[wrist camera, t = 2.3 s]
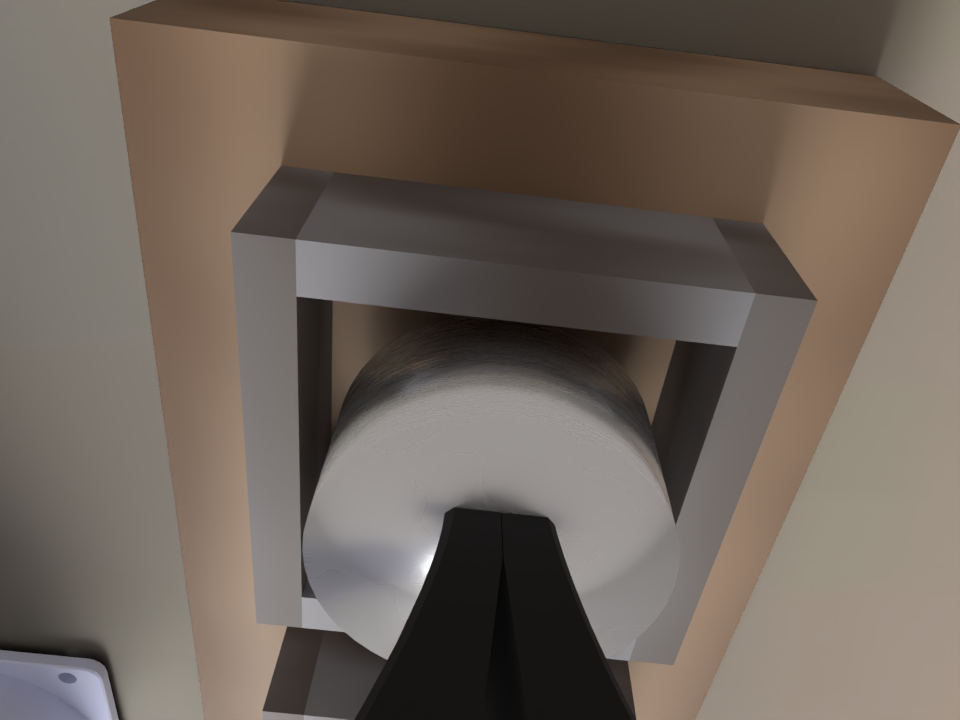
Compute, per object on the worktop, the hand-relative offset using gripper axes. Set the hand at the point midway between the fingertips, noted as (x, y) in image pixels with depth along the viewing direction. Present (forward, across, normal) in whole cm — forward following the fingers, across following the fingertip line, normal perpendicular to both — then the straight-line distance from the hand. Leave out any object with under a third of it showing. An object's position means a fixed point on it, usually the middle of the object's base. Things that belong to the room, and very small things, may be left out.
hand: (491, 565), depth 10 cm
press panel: (+7, 0, +5) cm, 9 cm away
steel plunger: (+3, 0, 0) cm, 3 cm away
